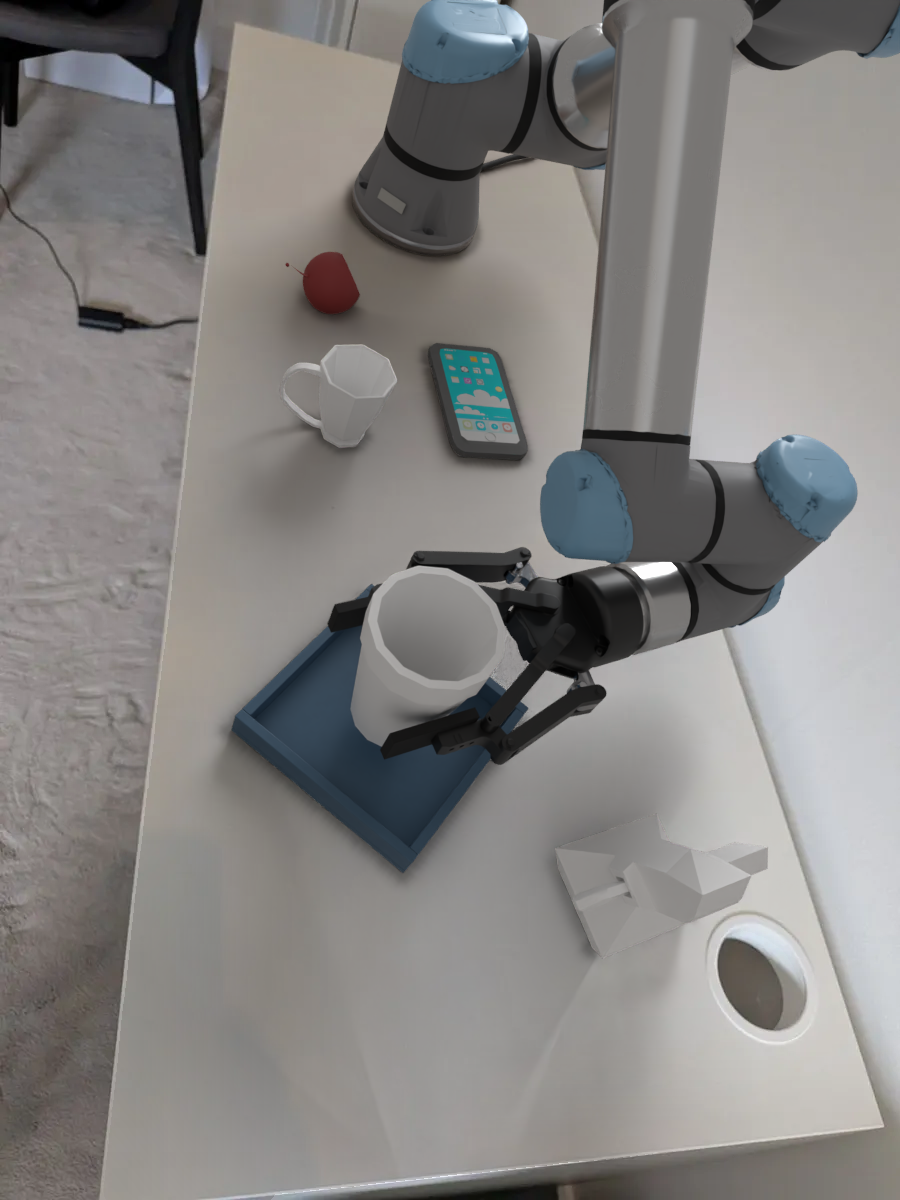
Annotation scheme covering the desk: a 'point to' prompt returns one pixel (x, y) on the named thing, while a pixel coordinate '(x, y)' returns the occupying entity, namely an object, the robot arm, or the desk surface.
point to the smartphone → (477, 402)
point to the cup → (346, 392)
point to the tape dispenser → (650, 882)
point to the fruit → (329, 283)
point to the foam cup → (423, 650)
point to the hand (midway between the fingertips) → (359, 680)
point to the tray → (359, 750)
